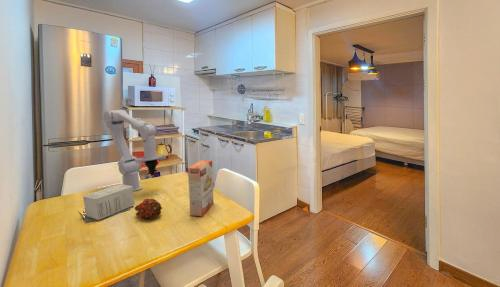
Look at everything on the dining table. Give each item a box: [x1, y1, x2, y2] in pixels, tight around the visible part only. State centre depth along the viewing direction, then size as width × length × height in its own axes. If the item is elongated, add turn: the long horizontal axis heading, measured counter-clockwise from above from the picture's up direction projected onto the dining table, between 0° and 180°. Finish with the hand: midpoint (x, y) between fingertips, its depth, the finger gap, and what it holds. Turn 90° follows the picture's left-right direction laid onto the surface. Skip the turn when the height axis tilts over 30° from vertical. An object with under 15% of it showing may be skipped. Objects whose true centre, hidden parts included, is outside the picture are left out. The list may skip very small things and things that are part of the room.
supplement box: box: [82, 183, 135, 221], centre depth 111 cm, size 10×9×17 cm
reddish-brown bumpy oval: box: [134, 198, 163, 220], centre depth 105 cm, size 8×8×12 cm
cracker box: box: [187, 159, 214, 217], centre depth 110 cm, size 14×6×21 cm, turn 168°
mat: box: [81, 207, 131, 224], centre depth 113 cm, size 16×17×1 cm
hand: (152, 174), depth 129 cm, fingers closed
